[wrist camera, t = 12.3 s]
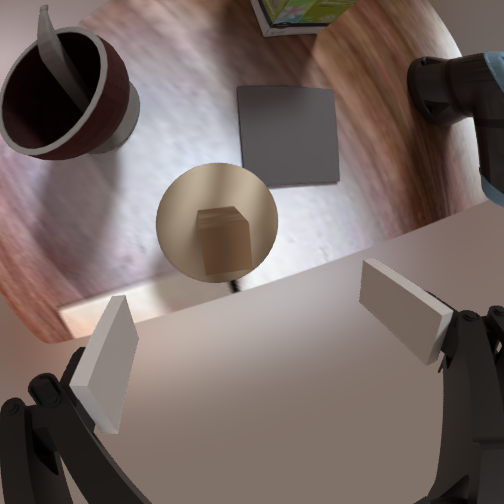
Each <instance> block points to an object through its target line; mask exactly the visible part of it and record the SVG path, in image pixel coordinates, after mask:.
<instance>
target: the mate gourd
mask: <svg viewBox="0 0 504 504" xmlns="http://www.w3.org/2000/svg"><path fill="white" fill-rule="evenodd" d="M37 36H38V37H37V38H38V40H36V41H35V42H34V43H32V44H31V45H30V46H29V47H28V48H27V49H26V50H25V51H24V52H23V53H22V54H21V55H20V56H19V58H18V59H17V60H16V61H15V63H14V64H13V66H12V68H11V69H10V71H9V73H8V74H7V77H6V79H5V81H4V83H3V86H2V89H1V92H0V132H1V135H2V137H3V139H4V141H5V142H6V143H7V144H8V146H9V147H10V148H12V149H13V150H15V151H16V152H18V153H21V154H24V155H28V156H32V157H35V158H38V159H42V160H65V159H71V158H75V157H78V156H80V155H83V154H85V153H90V154H99V153H104V152H107V151H110V150H112V149H114V148H116V147H118V146H119V145H120V144H121V143H123V142H124V141H125V140H126V139H127V137H128V136H129V135H130V134H131V132H132V131H133V129H134V128H135V125H136V123H137V121H138V117H139V113H140V100H139V95H138V93H137V90H136V89H135V87H134V86H133V84H132V83H131V82H130V81H129V77H128V73H127V70H126V67H125V64H124V62H123V60H122V59H121V58H120V56H119V55H118V53H117V52H116V51H115V49H114V48H113V46H111V45H110V44H109V43H108V42H106V41H105V40H104V39H102V38H101V37H99V36H98V35H95V34H94V33H93V32H91V31H90V30H87V29H84V28H82V27H66V28H60V29H57V30H54V28H53V26H52V24H51V21H50V18H49V15H48V5H43V6H41V7H40V15H39V22H38V34H37Z"/></svg>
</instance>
